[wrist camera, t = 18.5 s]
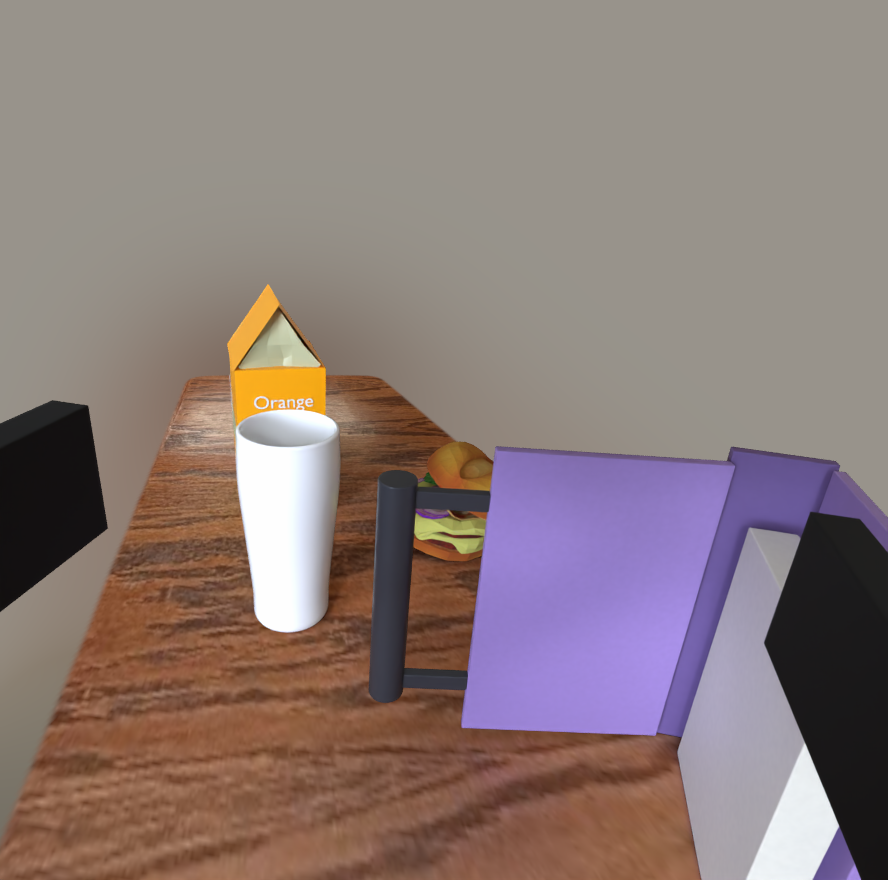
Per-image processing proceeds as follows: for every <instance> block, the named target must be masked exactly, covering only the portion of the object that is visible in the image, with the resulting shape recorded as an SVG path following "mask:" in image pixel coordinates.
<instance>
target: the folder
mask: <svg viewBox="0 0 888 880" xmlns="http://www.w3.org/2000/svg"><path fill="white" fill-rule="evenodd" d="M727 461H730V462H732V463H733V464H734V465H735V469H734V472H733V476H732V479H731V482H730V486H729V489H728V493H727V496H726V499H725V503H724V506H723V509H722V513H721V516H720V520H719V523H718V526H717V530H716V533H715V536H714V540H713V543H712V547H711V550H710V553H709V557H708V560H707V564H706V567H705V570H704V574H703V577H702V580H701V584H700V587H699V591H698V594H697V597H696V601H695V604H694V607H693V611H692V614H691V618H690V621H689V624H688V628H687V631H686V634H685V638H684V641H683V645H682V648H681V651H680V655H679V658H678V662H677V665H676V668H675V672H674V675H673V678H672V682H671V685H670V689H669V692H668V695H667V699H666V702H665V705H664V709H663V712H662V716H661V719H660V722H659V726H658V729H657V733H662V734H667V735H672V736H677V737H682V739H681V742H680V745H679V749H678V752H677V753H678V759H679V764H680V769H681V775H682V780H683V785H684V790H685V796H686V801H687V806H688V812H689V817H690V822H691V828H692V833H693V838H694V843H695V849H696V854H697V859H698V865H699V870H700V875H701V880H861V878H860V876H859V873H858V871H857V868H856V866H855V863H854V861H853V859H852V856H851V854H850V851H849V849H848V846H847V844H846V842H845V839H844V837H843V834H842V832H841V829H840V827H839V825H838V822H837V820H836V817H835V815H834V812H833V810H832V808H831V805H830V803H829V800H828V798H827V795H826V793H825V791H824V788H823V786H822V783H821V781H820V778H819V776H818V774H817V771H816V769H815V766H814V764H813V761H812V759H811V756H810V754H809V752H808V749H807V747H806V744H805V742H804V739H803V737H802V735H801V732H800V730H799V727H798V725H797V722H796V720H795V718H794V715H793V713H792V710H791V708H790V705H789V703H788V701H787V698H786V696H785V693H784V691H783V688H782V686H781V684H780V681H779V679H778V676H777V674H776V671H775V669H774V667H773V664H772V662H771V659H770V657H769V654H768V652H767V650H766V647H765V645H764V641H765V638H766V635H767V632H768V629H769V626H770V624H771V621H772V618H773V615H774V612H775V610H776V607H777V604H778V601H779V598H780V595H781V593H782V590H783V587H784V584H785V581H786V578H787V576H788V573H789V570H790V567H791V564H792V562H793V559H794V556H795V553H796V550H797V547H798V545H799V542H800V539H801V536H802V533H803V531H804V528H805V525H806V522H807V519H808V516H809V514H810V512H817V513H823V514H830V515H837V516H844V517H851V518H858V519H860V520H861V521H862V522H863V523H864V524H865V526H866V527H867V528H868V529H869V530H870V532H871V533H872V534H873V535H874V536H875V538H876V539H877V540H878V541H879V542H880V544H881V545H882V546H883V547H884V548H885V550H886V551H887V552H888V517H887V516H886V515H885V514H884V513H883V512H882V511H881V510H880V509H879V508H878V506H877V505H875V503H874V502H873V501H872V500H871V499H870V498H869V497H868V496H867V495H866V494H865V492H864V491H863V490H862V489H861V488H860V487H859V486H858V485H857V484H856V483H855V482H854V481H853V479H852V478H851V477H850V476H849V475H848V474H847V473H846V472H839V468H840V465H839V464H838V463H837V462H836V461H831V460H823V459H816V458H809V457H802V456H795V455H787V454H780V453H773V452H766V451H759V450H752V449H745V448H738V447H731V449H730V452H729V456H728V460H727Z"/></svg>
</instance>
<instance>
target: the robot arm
mask: <svg viewBox="0 0 888 880" xmlns="http://www.w3.org/2000/svg"><path fill="white" fill-rule="evenodd" d="M107 528H108V527H107V520H106V514H105V508H104V502H103V495H102V489H101V483H100V477H99V471H98V465H97V458H96V452H95V446H94V439H93V433H92V427H91V421H90V415H89V408H88V406H87V405H80V404H74V403H66V402H60V401H53V400H52V401H50V402H48V403H45V404H43V405H41V406H39V407H36V408H34V409H32V410H30V411H27V412H25V413H23V414H21V415H18V416H16V417H14V418H12V419H9V420H7V421H5V422H3V423H0V612H1V611H2V610H3V609H5V608H6V607H7V606H8V605H10V604H11V603H12V602H13V601H15V600H16V599H17V598H19V597H20V596H21V595H23V594H24V593H25V592H26V591H28V590H29V589H30V588H32V587H33V586H34V585H35V584H37V583H38V582H39V581H41V580H42V579H43V578H45V577H46V576H47V575H48V574H49V573H51V572H52V571H54V570H55V569H56V568H57V567H59V566H60V565H61V564H62V563H64V562H65V561H66V560H68V559H69V558H70V557H72V556H73V555H74V554H75V553H77V552H78V551H79V550H81V549H82V548H83V547H84V546H86V545H87V544H88V543H90V542H91V541H92V540H93V539H95V538H96V537H97V536H99V535H100V534H101V533H102V532H104V531H105V530H106V529H107ZM764 645H765V647H766V650H767V652H768V654H769V657H770V659H771V662H772V664H773V667H774V669H775V671H776V674H777V676H778V679H779V681H780V684H781V686H782V688H783V691H784V693H785V696H786V698H787V701H788V703H789V705H790V708H791V710H792V713H793V715H794V718H795V720H796V722H797V725H798V727H799V730H800V732H801V735H802V737H803V739H804V742H805V744H806V747H807V749H808V752H809V754H810V756H811V759H812V761H813V764H814V766H815V769H816V771H817V774H818V776H819V778H820V781H821V783H822V786H823V788H824V791H825V793H826V795H827V798H828V800H829V803H830V805H831V808H832V810H833V812H834V815H835V817H836V820H837V822H838V825H839V827H840V829H841V832H842V834H843V837H844V839H845V842H846V844H847V846H848V849H849V851H850V854H851V856H852V859H853V861H854V863H855V866H856V868H857V871H858V873H859V876H860V878H861V880H888V552H887V551H886V550H885V548H884V547H883V546H882V545H881V544H880V542H879V541H878V540H877V539H876V538H875V536H874V535H873V534H872V533H871V532H870V530H869V529H868V528H867V527H866V526H865V524H864V523H863V522H862V521H861V520H860V519H858V518H851V517H844V516H837V515H830V514H823V513H817V512H810V514H809V516H808V519H807V522H806V525H805V528H804V531H803V533H802V536H801V539H800V542H799V545H798V547H797V550H796V553H795V556H794V559H793V562H792V564H791V567H790V570H789V573H788V576H787V578H786V581H785V584H784V587H783V590H782V593H781V595H780V598H779V601H778V604H777V607H776V610H775V612H774V615H773V618H772V621H771V624H770V626H769V629H768V632H767V635H766V638H765V641H764Z"/></svg>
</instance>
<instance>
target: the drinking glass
mask: <svg viewBox="0 0 888 880" xmlns="http://www.w3.org/2000/svg"><path fill="white" fill-rule="evenodd" d="M340 463H341V458H340V429H339V426H338V424H337V423H336V422H335V421H334V420H333V419H331V418H330V417H328V416H325V415H323V414H320V413H316V412H311V411H305V410H291V409H287V410H273V411H266V412H262V413H258V414H255V415H252V416H250V417H247V418H246V419H244V420H242V421H241V422H240V423H239V424H238V426H237V427H236V475H237V486H238V494H239V501H240V508H241V514H242V520H243V527H244V533H245V539H246V546H247V552H248V558H249V565H250V572H251V578H252V585H253V595H254V610H255V614H256V617H257V619H258V620H259V621H260V623H261V624H263V625H264V626H265V627H267V628H269V629H271V630H274V631H278V632H297V631H302V630H305V629H308V628H310V627H312V626H314V625H315V624H317V623H318V622H319V621H320V620H321V619H322V618H323V617H324V615H325V613H326V611H327V608H328V594H329V578H330V568H331V559H332V550H333V541H334V532H335V523H336V515H337V506H338V497H339V487H340Z"/></svg>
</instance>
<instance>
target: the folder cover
mask: <svg viewBox="0 0 888 880" xmlns="http://www.w3.org/2000/svg"><path fill="white" fill-rule="evenodd" d="M734 469H735V465H734V464H733V463H732V462H730V461H717V460H701V459H685V458H670V457H655V456H639V455H622V454H607V453H591V452H577V451H560V450H545V449H530V448H514V447H499V446H496V447H495V455H494V463H493V471H492V479H491V487H490V491H486V490H469V489H452V488H436V487H419V486H418V479H417V477H416V476H415V475H414V474H412V473H410V472H407V471H402V470H391V471H386V472H384V473H382V474H381V475H380V476H379V477H378V492H377V514H376V537H375V559H374V582H373V604H372V627H371V649H370V672H369V693H370V695H371V697H372V698H373V699H374V700H376V701H378V702H382V703H389V702H393V701H395V700H397V699H398V698H399V697H400V696H401V694H402V692H403V688H424V689H447V690H465V695H464V703H463V711H462V719H461V724H462V728H478V729H504V730H529V731H555V732H580V733H606V734H632V735H656V732H657V729H658V726H659V722H660V719H661V716H662V712H663V709H664V705H665V702H666V699H667V695H668V692H669V689H670V685H671V682H672V678H673V675H674V672H675V668H676V665H677V662H678V658H679V655H680V651H681V648H682V645H683V641H684V638H685V634H686V631H687V628H688V624H689V621H690V618H691V614H692V611H693V607H694V604H695V601H696V597H697V594H698V591H699V587H700V584H701V580H702V577H703V574H704V570H705V567H706V564H707V560H708V557H709V553H710V550H711V547H712V543H713V540H714V536H715V533H716V530H717V526H718V523H719V520H720V516H721V513H722V509H723V506H724V503H725V499H726V496H727V493H728V489H729V486H730V482H731V479H732V476H733V472H734ZM416 508H419V509H436V510H453V511H471V512H487V519H486V527H485V535H484V543H483V551H482V559H481V567H480V575H479V583H478V591H477V599H476V607H475V615H474V623H473V631H472V639H471V647H470V655H469V663H468V671H461V670H438V669H416V668H404V667H405V653H406V640H407V626H408V612H409V599H410V585H411V571H412V558H413V544H414V530H415V516H416Z"/></svg>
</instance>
